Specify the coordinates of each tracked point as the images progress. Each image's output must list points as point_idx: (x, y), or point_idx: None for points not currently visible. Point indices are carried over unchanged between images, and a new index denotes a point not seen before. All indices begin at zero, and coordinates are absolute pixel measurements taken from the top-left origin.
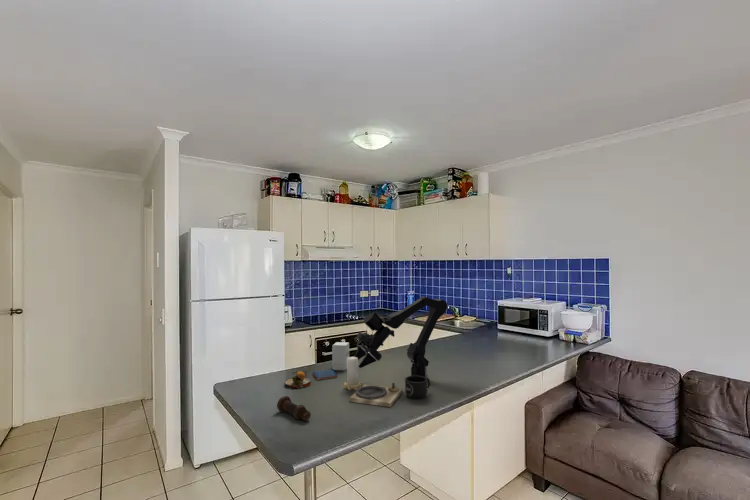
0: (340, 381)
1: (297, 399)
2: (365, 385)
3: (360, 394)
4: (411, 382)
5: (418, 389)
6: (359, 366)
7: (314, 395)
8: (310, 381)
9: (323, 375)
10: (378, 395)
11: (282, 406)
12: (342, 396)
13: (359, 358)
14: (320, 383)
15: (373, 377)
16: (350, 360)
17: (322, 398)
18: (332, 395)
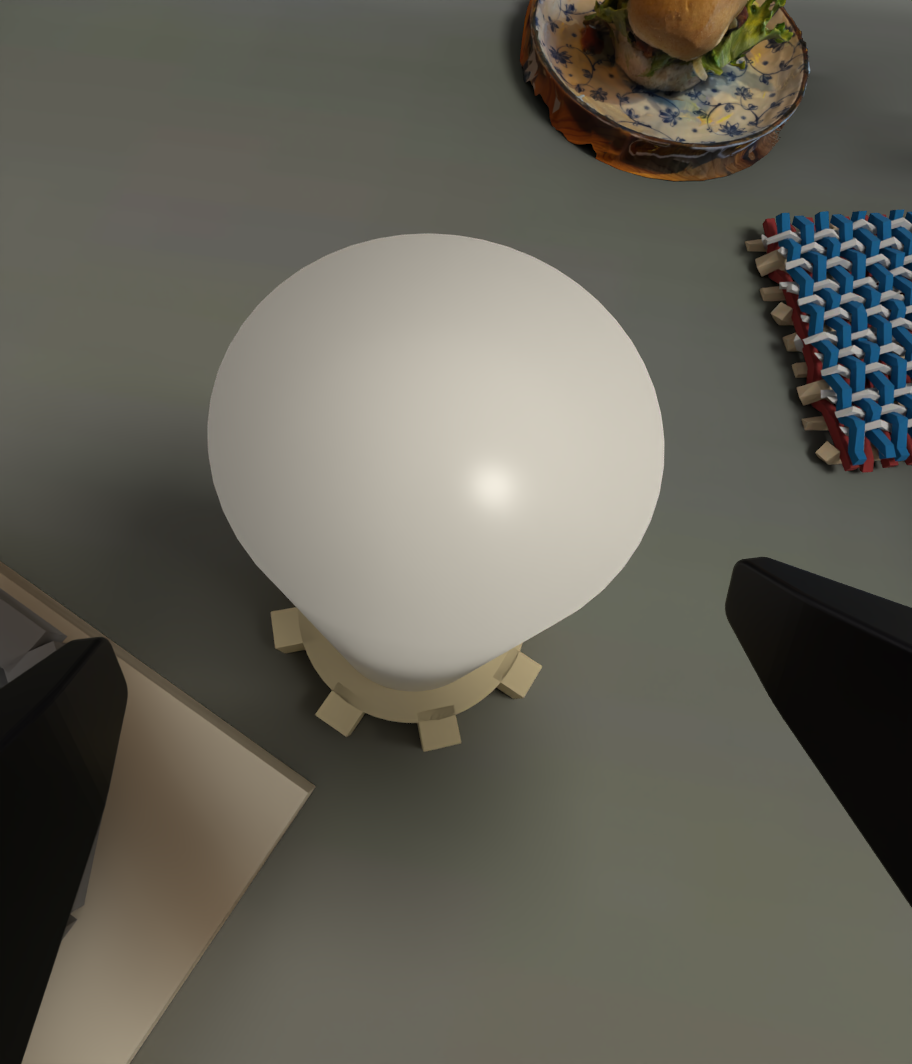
0: (670, 488)
1: (217, 20)
2: (251, 798)
3: None
4: None
5: None
6: (62, 659)
7: (267, 159)
8: (629, 134)
9: (845, 293)
10: None
11: None
12: (104, 422)
13: (860, 813)
14: (637, 261)
15: (789, 1059)
16: (261, 331)
17: (141, 214)
18: (190, 321)
